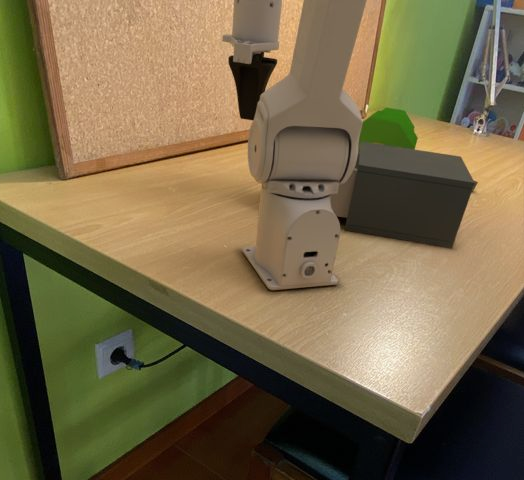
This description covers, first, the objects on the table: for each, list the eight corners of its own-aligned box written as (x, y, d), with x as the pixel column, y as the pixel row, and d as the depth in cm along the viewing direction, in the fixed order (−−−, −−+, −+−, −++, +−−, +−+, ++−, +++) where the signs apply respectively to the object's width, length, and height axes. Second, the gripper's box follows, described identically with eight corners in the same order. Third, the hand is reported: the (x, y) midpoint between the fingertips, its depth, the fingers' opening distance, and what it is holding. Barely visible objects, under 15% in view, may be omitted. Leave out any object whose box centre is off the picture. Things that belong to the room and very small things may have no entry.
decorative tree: (359, 110, 71) (390, 77, 93) (317, 178, 78) (355, 133, 101) (425, 156, 71) (440, 112, 94) (377, 220, 79) (402, 165, 101)
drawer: (253, 206, 68) (258, 154, 64) (267, 182, 77) (272, 135, 73) (383, 228, 66) (396, 176, 62) (382, 201, 75) (393, 154, 71)
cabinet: (344, 230, 67) (358, 164, 62) (348, 200, 77) (360, 141, 72) (452, 248, 66) (475, 182, 61) (441, 215, 75) (461, 156, 70)
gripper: (238, -9, 66) (231, 104, 74) (209, -9, 54) (205, 125, 62) (291, -2, 65) (279, 111, 73) (273, -1, 54) (261, 134, 62)
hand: (248, 118), depth 68 cm, fingers closed
